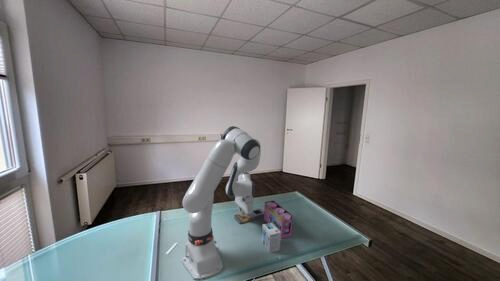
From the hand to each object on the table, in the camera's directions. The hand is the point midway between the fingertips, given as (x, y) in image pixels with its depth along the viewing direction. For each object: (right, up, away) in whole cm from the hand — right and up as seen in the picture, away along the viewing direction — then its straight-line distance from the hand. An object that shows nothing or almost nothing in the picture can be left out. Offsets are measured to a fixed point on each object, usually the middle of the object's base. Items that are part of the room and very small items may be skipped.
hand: (243, 213), depth 135 cm
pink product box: (+23, -7, -7) cm, 25 cm away
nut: (0, -4, 0) cm, 4 cm away
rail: (+5, -4, +4) cm, 8 cm away
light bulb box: (+16, -9, -25) cm, 31 cm away
